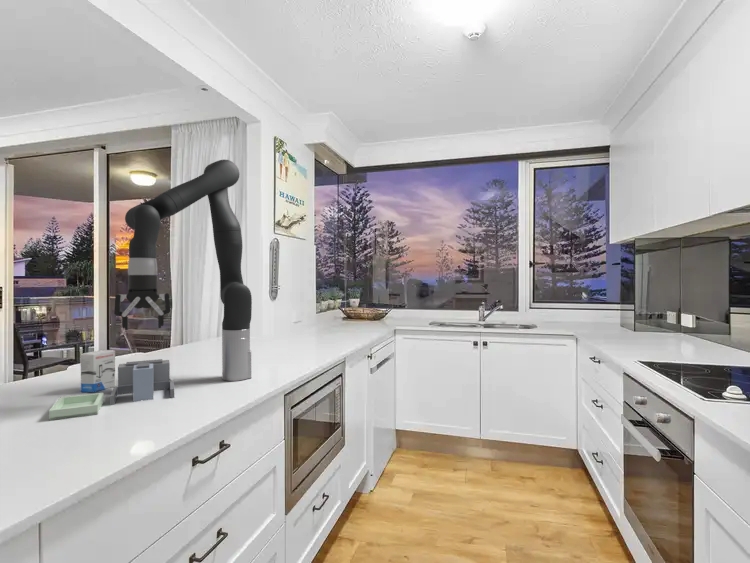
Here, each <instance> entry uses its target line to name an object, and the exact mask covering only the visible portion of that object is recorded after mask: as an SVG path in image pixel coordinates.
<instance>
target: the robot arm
mask: <svg viewBox="0 0 750 563" xmlns="http://www.w3.org/2000/svg"><path fill="white" fill-rule="evenodd" d="M239 179H240V169H239V168H238V165H237V164H236V163H235V162H233V161H232V160H229V159H219V160H216V161H214V162H212V163H210V164H208V165H206V167H205V168H204V171H203V173H202V174H201V175H199V176H197V177H195V178H192V179H190V180H188V181H186V182H183V183H180V184H178V185H176V186H174V187H172V188H170V189H168V190H166V191H164V192H162V193H160V194H158V195H157V196H155V197H154V198H151V199H149V200H146V201H144V202H142V203H139V204H138V205H135V206H133V207H130V208H129V209H128V211H126V213H125V217H124V220H125V224H126V225H127V226H128V228H130V229H131V230H133V237H132V238H131V239H130V240H129V242H128V264H127V290H128V291H127V293H126V294H120V293H117V294H115V297H114V298H115V299H114V315H115V316H120V317H121V323H122V324H121V327H122V329H124V330H125V331H128V330H129V316H128V315H129V313H130V312H131V311H132V310H133V309H134V308H135V309H150V308H153V309H154V311H155V312H156V313H157V314H158V318H157V319H158V321H157V322H158V329H162V327H163V326H164V320H165V318H164V316H165V315H167V314H169V313H171V302H170V294H169V293H168V292H165V293H159V292H158V273H159V272H158V261H157V242H158V238H159V234H160V233H159V232H160V226H161V220H163V219H165V218H169V217H172V216H174V215H176V214H177V213H179V212H181V211H183V210H184V209H187V208H188V207H190V206H192V205H193V204H195V203H196V202H198V201H200V200H201V199H203V198H205V197H206V196H207V199H208V204H209V209H210V216H211V224H212V233H213V234H212V235H213V236H212V237H213V242H214V243H213V244H214V247H215V248H214V249H215V254H216V260H217V264H218V268H219V279H220V280H219V282H220V283H219V284H220V288H219V289H220V294H219V296H220V300H221V303H222V304H223V319H222V322H221V337H222V338H221V341H222V342H221V349H222V350H221V358H222V359H221V363H222V364H221V366H222V367H221V368H222V371H221V373H222V374H221V375H222V376H221V378H222V380H223V381H226V382H227V381H229V382H233V381H234V382H236V381H243V380H247V379H252V350H251V321H252V308H253V307H252V303H253V302H252V300H253V299H252V292H251V289H250V288H249V287H248V286H247V285H246V284H244V280H243V274H242V260H243V259H242V257H243V237H242V236H243V235H242V229H241V224H240V222H239V220H238V218H237V216H236V215H235V213H234V211H233V210H232V207H231V205H230V199H229V190H228V189H229V188H231V187H233V186H234V185H236V184H237V183H238V181H239ZM159 298H161V300H162V301H164V304H165V305H164V306H165V309H163V310H162V309H161V307H160V306H159V305H158V304H157V303H156V302H157V301H158V300H159ZM125 299H126V300H127V301H128V302H129V303H130V304H129V305H128V307H126V309H125V310H124V311H122V310H121V302H124V300H125Z"/></svg>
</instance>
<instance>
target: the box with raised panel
mask: <svg viewBox="0 0 750 563" xmlns="http://www.w3.org/2000/svg"><path fill="white" fill-rule="evenodd" d="M132 396H133V397H132V400H133V401H132V402H134V401H135V402H141V400H143V401H150V400H151V401H152V400H154V386H153V363H152V364H150V363H139V364H138V365H134V368H133V393H132Z"/></svg>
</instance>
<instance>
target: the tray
mask: <svg viewBox="0 0 750 563" xmlns="http://www.w3.org/2000/svg"><path fill="white" fill-rule="evenodd" d="M104 396H105V395H104V392H98V393H97V392H95V393H88V394H79V395H71V396H69V395H68V396H61V397H59V398H58V400H56V401H55V403H54V404H53V406H52V407H50V409H49V410H48V420H49V421H55V420H62V419H63V420H64V419H72V418H79V417H87V416H95V415H98V414H99V412H100V410H101V409H102V408H101V407H102V406H103V403H104V401H105V400H104V399H105V398H104Z"/></svg>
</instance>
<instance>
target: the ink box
mask: <svg viewBox="0 0 750 563" xmlns="http://www.w3.org/2000/svg"><path fill="white" fill-rule="evenodd" d="M114 387H116V350H112V349H111V350H110V349H100V350H95V351H90V352H88V351H87V352H84V353H82V354H80V392H82V393H97V392H99V391H100V392H101V391H103V390H107V389H110V388H114Z"/></svg>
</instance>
